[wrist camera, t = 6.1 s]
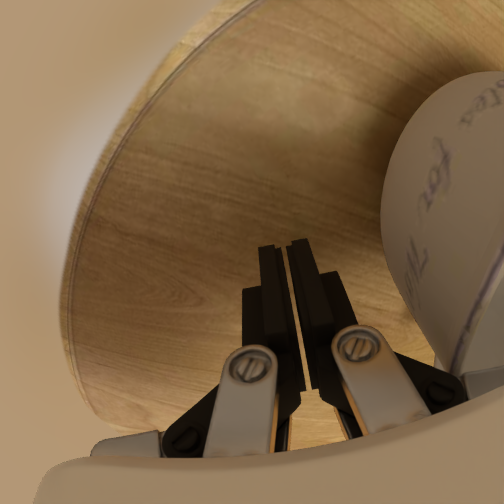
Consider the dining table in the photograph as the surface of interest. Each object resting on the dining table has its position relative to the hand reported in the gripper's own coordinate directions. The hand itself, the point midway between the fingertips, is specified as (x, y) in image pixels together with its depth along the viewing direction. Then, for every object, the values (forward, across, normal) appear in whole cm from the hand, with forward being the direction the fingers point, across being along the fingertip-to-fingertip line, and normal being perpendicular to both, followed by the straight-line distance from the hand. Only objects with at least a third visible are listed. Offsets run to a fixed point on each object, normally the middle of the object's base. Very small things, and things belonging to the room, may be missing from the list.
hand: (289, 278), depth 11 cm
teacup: (+3, -8, 0) cm, 8 cm away
